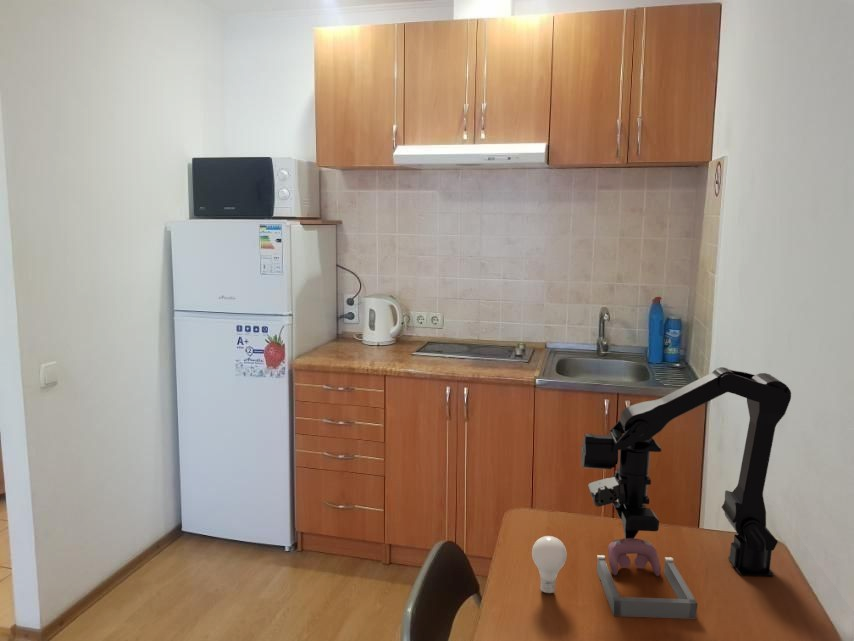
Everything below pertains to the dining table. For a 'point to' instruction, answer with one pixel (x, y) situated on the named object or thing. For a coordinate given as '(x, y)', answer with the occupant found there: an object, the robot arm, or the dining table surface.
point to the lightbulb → (548, 560)
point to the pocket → (650, 606)
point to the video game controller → (632, 546)
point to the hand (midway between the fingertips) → (628, 541)
